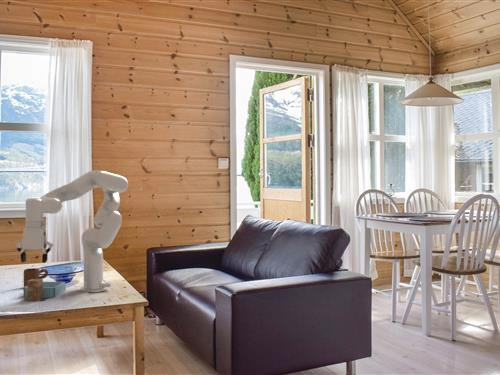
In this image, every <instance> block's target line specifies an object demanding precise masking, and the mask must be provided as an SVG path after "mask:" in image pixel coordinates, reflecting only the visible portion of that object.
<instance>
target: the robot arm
mask: <svg viewBox="0 0 500 375" xmlns="http://www.w3.org/2000/svg"><path fill="white" fill-rule="evenodd" d="M128 187H129V182H128V180H127V178H126V177H125V176H123V175H119V174H115V173H113V172H112V173H111V172H108V171H105V170H89V171H88V172H85V173H84V174H82V175H80V176H79V177H77V178H76V179H74V180H72V181H71V182H68V183H66V184H64V185H62V186H60V187H57V188H55V189H53V190H51V191H49V192H47V193H45V194H44V195H42V196H41V197H38V198H37V197H35V198H34V197H33V198H32V197H31V198H27V199H26V200H25V227H24V228H23V232H22V239H21V240H20V241H18V242H16V243H14V246H15V248H16V250H17V251H18V252H19V254H20V262H21V263H25V262H27V253H26V251H41V252H42V255H41V256H42V261H41V262H42V263H43V264H45V263H47V261H48V253H49V252H51V250H52V249H53V247H54V244H53V243H52V242H50V241H48V239H47V238H48V237H47V236H48V235H47V231H46V227H45V226H47V222H44V214H50V215H51V214H58V213H59V212H60V211H61V210H62V208H63V203H65V202H68V201H73V200H75V199H80V198H81V197H83V196H84V195H86V194H87V193H89V192H91V191H92V190H94V189H96V188H101V189H102V191H103V200H102V202H101V205H100V206H99V208H98V210H97V212H96V213H95V215H94V218H93V223H94V225H95V227H89V228H87V229H85V230H84V231H83V232H82V235H81V245H82V251H83V286H82V287H80V289H79V290H80V291H83V292H88V293H101V292H104V291H106V290H107V288H111V287H112V282H106V280H105V279H104V252H103V249H107V248H108V247H110V245H112V243H113V241H114V240H115V238H116V236H117V234H118V232H119V230H120V228H121V226H122V223H123V222H122V221H123V218H122V215H121V213H120V212H119V211H118V209H119V207H120V204H121V198H120V194H122V193H124V192H126V191H127V190H128ZM96 227H97V228H96Z"/></svg>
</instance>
